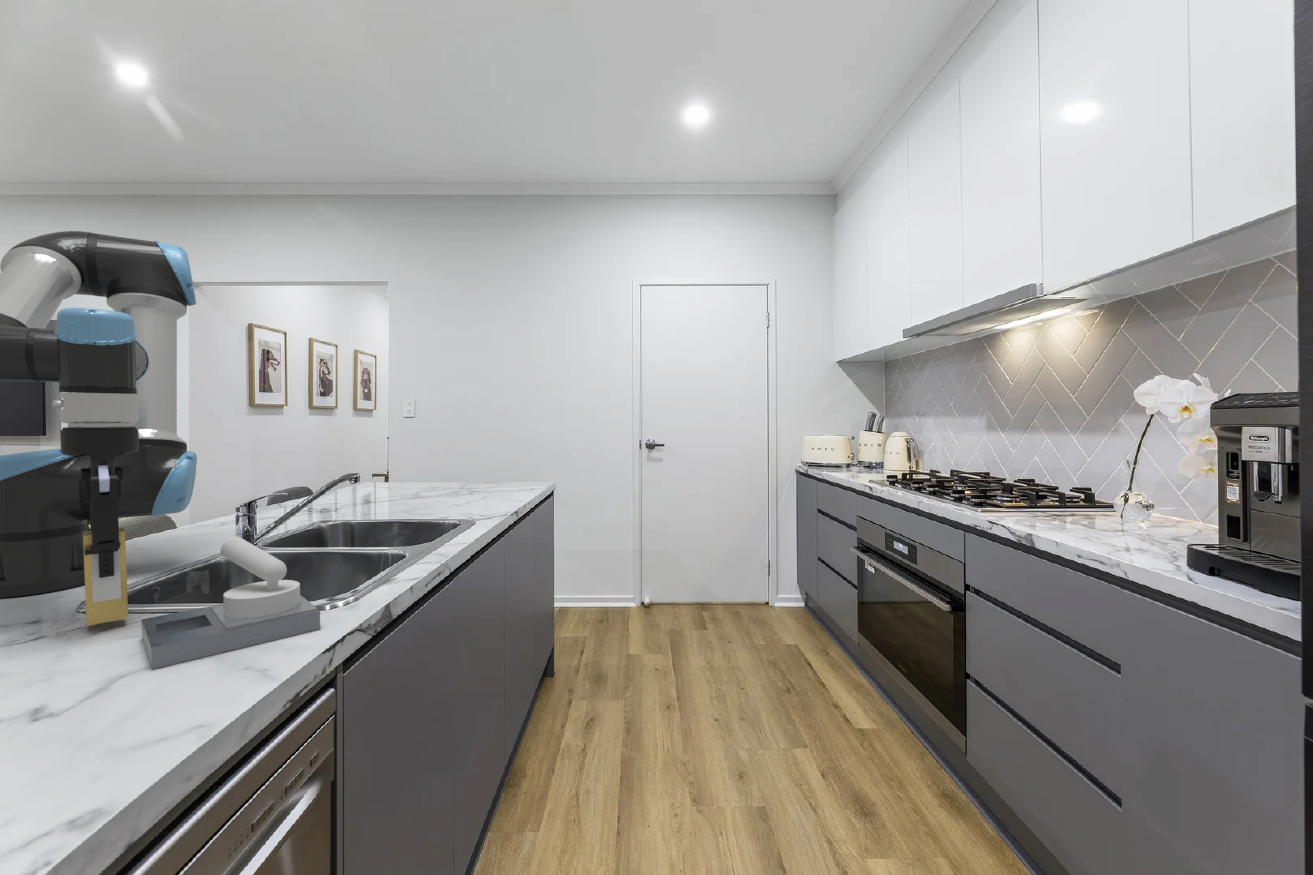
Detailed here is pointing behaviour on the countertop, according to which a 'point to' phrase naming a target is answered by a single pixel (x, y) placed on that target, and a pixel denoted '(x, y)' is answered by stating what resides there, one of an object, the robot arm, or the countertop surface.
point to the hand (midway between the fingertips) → (106, 595)
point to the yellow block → (108, 608)
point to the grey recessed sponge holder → (219, 632)
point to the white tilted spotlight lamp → (258, 583)
